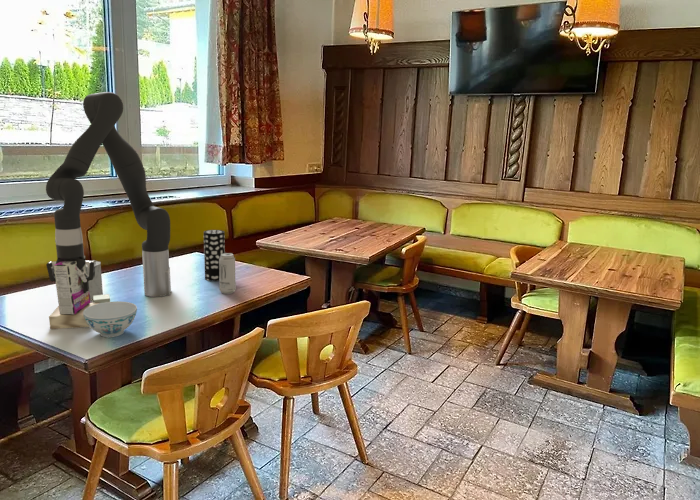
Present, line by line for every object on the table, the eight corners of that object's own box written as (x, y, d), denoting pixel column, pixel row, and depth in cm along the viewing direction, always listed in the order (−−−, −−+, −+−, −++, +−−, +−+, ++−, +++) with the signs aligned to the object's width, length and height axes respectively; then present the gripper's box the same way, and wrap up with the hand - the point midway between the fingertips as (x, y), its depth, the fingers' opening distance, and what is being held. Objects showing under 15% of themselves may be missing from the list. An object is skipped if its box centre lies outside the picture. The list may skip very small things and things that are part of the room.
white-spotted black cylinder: (229, 278, 224) (228, 231, 219) (214, 282, 217) (213, 234, 212) (215, 274, 228) (214, 229, 224) (200, 278, 221) (199, 232, 217)
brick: (110, 307, 184) (109, 294, 183) (110, 312, 180) (109, 298, 179) (94, 309, 182) (93, 295, 181) (94, 314, 178) (93, 300, 177)
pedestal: (100, 313, 178) (99, 302, 177) (92, 326, 167) (91, 315, 166) (61, 315, 175) (60, 303, 175) (50, 328, 164) (48, 316, 163)
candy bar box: (76, 303, 176) (70, 255, 172) (91, 303, 176) (86, 255, 172) (58, 315, 165) (52, 264, 161) (74, 315, 165) (68, 264, 161)
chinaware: (76, 342, 155) (73, 317, 153) (97, 323, 170) (95, 300, 168) (128, 343, 156) (126, 318, 154) (144, 324, 171) (143, 301, 169)
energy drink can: (216, 292, 205) (215, 255, 201) (226, 288, 210) (226, 251, 206) (228, 295, 202) (227, 257, 198) (238, 291, 207) (238, 254, 204)
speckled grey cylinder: (91, 301, 190) (89, 268, 187) (68, 298, 192) (65, 265, 189) (108, 293, 199) (106, 261, 196) (86, 290, 201) (83, 259, 198)
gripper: (97, 239, 170) (100, 288, 174) (47, 239, 167) (52, 290, 171) (91, 244, 163) (95, 295, 167) (40, 245, 160) (45, 297, 164)
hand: (73, 292), depth 169 cm, fingers open, 6 cm apart
